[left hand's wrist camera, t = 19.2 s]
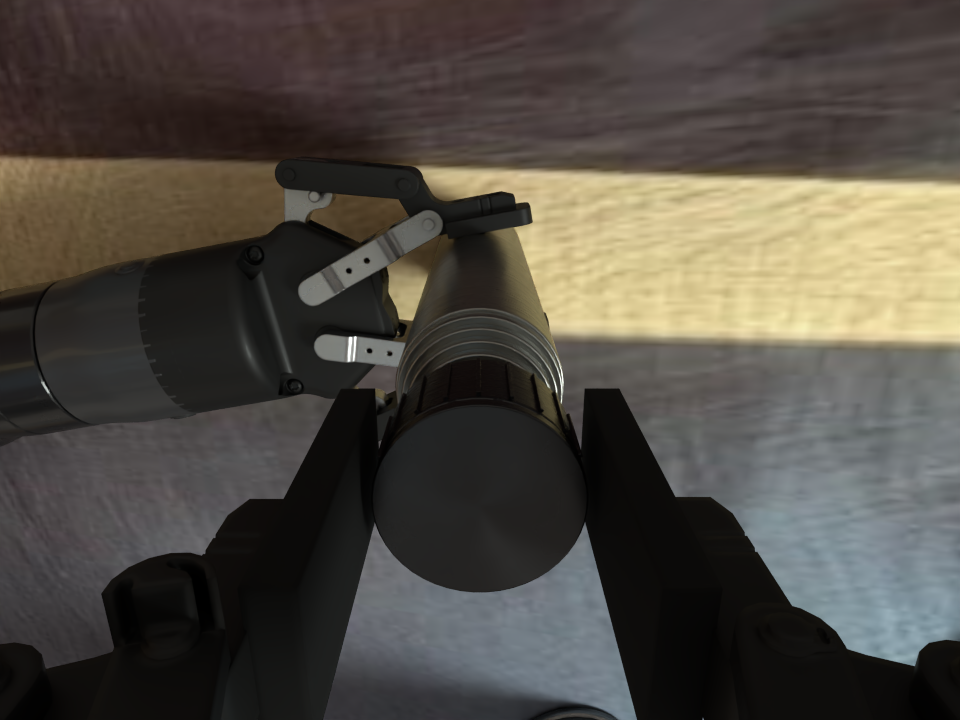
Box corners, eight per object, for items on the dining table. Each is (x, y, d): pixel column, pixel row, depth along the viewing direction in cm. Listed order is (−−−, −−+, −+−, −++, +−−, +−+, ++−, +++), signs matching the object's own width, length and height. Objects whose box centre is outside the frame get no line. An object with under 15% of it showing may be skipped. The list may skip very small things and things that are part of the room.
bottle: (517, 206, 35) (591, 370, 12) (523, 288, 37) (599, 574, 14) (433, 214, 36) (346, 392, 12) (443, 296, 37) (381, 591, 14)
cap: (384, 519, 15) (367, 590, 13) (386, 349, 14) (368, 395, 12) (563, 529, 15) (577, 600, 13) (583, 361, 14) (604, 409, 12)
